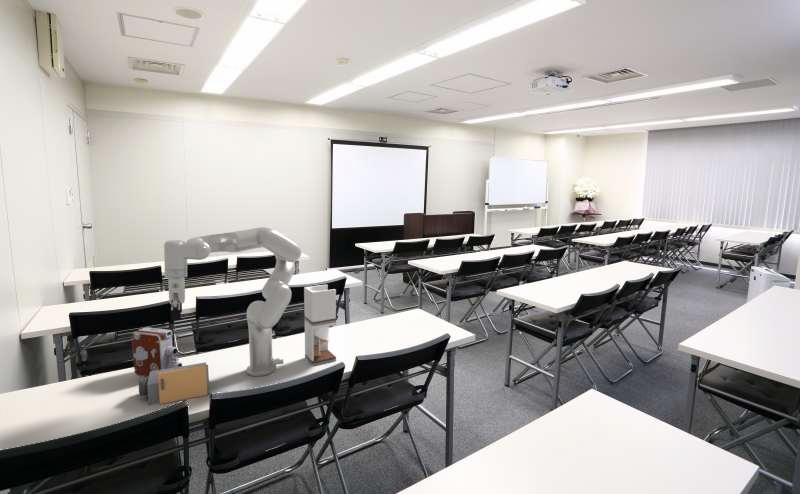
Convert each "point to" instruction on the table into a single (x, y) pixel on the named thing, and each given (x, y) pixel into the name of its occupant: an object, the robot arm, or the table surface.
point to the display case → (319, 323)
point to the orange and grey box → (156, 383)
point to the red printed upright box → (153, 350)
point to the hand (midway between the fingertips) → (176, 316)
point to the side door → (183, 383)
